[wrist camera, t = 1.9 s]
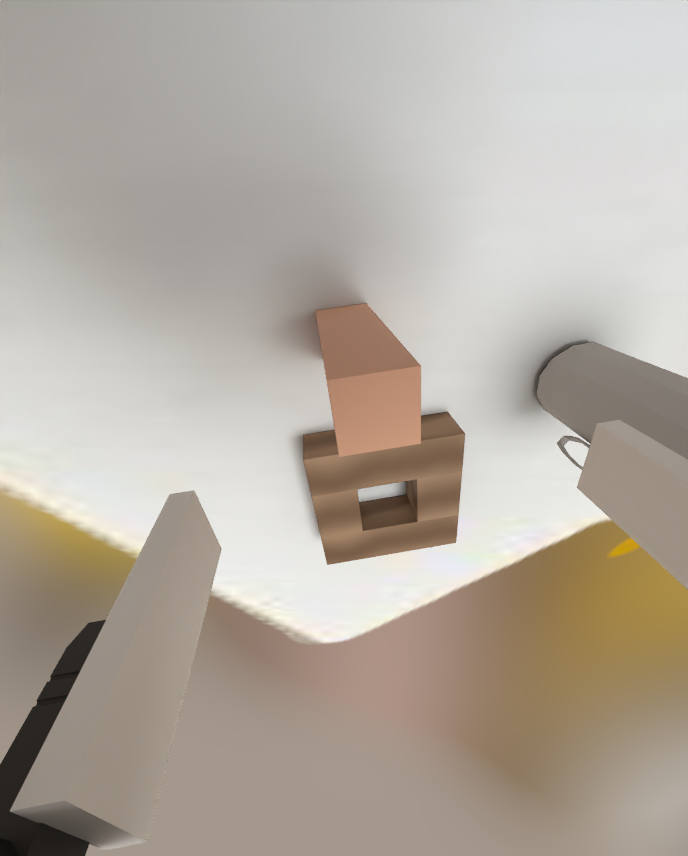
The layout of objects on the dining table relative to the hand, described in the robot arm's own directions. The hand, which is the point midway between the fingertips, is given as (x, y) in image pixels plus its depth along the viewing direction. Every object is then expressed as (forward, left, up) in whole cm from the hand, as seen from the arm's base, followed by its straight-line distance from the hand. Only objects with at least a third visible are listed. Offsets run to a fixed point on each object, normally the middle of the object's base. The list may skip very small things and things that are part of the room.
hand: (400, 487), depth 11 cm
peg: (0, 0, -19) cm, 19 cm away
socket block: (+16, +2, -19) cm, 25 cm away
